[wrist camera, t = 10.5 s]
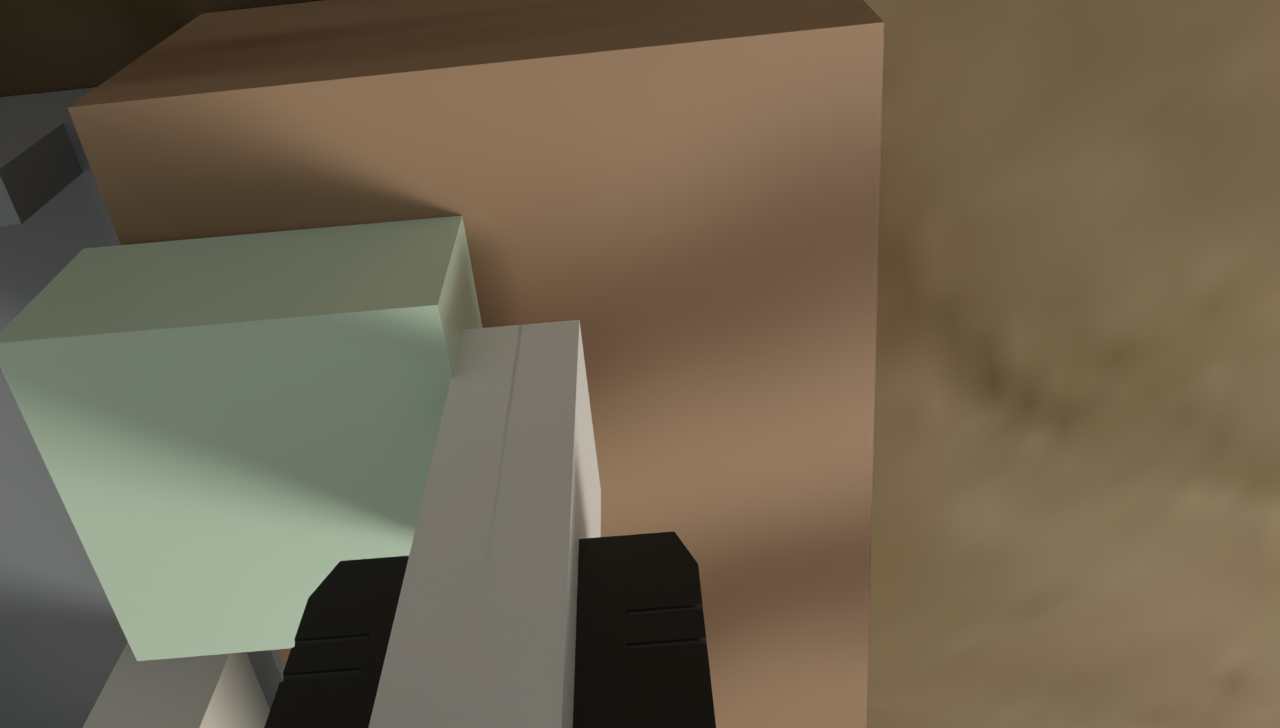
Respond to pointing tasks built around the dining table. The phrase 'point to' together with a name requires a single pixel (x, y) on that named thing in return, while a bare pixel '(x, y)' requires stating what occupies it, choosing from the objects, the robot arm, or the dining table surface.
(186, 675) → the cream tile
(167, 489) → the sage tile
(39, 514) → the tray
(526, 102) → the walnut riser
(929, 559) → the dining table surface
